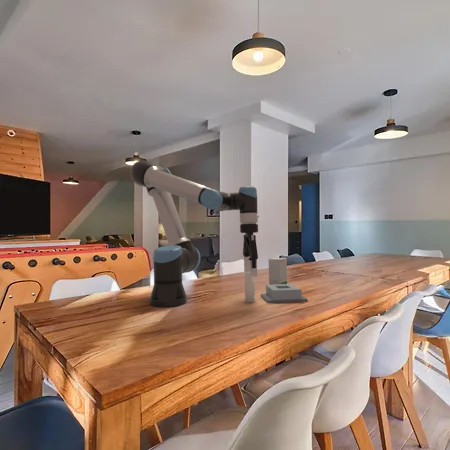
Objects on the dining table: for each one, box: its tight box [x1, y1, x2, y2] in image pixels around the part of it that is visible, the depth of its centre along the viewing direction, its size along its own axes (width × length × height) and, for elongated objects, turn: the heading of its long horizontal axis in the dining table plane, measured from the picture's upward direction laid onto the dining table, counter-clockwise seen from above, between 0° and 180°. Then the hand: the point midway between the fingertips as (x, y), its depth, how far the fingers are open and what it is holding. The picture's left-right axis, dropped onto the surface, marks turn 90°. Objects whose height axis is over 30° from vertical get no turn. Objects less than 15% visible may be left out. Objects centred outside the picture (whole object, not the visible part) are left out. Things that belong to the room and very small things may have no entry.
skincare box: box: [268, 257, 288, 285], centre depth 149 cm, size 8×7×16 cm
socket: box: [260, 283, 308, 304], centre depth 131 cm, size 17×12×5 cm
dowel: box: [244, 272, 256, 303], centre depth 127 cm, size 4×4×12 cm
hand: (250, 274), depth 127 cm, fingers open, 13 cm apart
